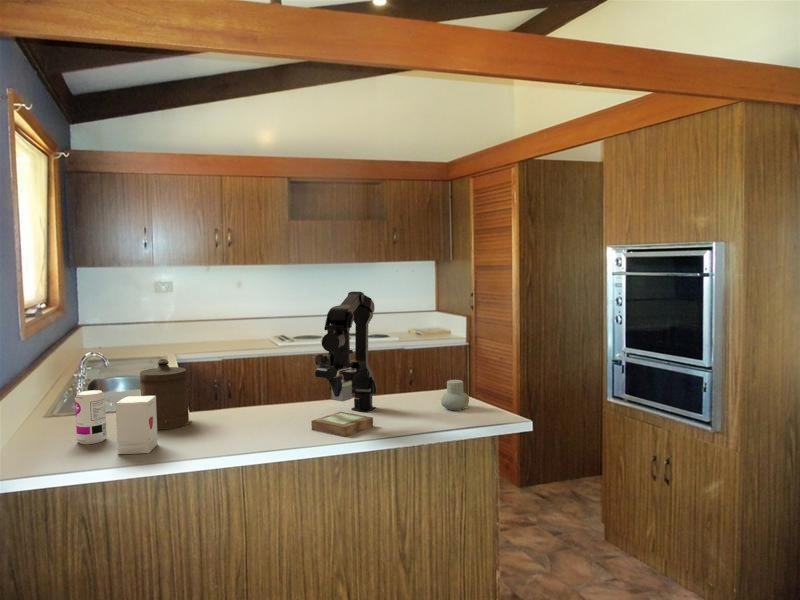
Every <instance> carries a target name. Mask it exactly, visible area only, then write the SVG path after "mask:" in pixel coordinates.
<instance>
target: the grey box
mask: <svg viewBox="0 0 800 600" xmlns="http://www.w3.org/2000/svg"><path fill="white" fill-rule="evenodd" d="M330 388H331V389H330V390H331V392H330V393H331V400H332V401H336V402H337V401H338V402H346V401H349V400H352V399H353V393H352V380H345V379H344V378H342V381H341V386H340V392H339V396H338V397H335V395H334V392H333V390H332V387H331V386H330Z"/></svg>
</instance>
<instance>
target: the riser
mask: <svg viewBox="0 0 800 600" xmlns="http://www.w3.org/2000/svg"><path fill="white" fill-rule="evenodd" d="M373 427H374V417H372V416H367V415H363V414H362V415H361V414H356V413H351V412H345V411H338V412H335V413H332V414H329V415H326V416H321V417H319V418H316V419H315V418H314V419H312V420H311V430H312V431H314V432H315V431H316V432H319V433H323V434H324V433H325V434H328V435H335V436H340V437H342V438H343V437H344V438H346V437H348V436H351V435H354V434H356V433H359V431H360V432H362V431H365V430H367V429H368V430H369V428H373Z"/></svg>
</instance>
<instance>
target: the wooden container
mask: <svg viewBox="0 0 800 600" xmlns="http://www.w3.org/2000/svg"><path fill="white" fill-rule="evenodd" d="M187 382H188V380H187V369H186V368H184V367H180V366H170V365H169V360H168V359H166V358H160V359H159V360H158V361H157V367H154V368H153V367H152V368H148V369H147V368H146V369H144V370H141V371H140V372H139V383H140V384H139V385H140V386H139V390H140V392H139V393H140V395H139V396H156V414H157V431H163V430H171V429H172V430H173V429H177V428H180V427H183V426H186V425H188V424H189V422H190V419H189V415H190V414H189V397H188V385H187Z"/></svg>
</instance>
